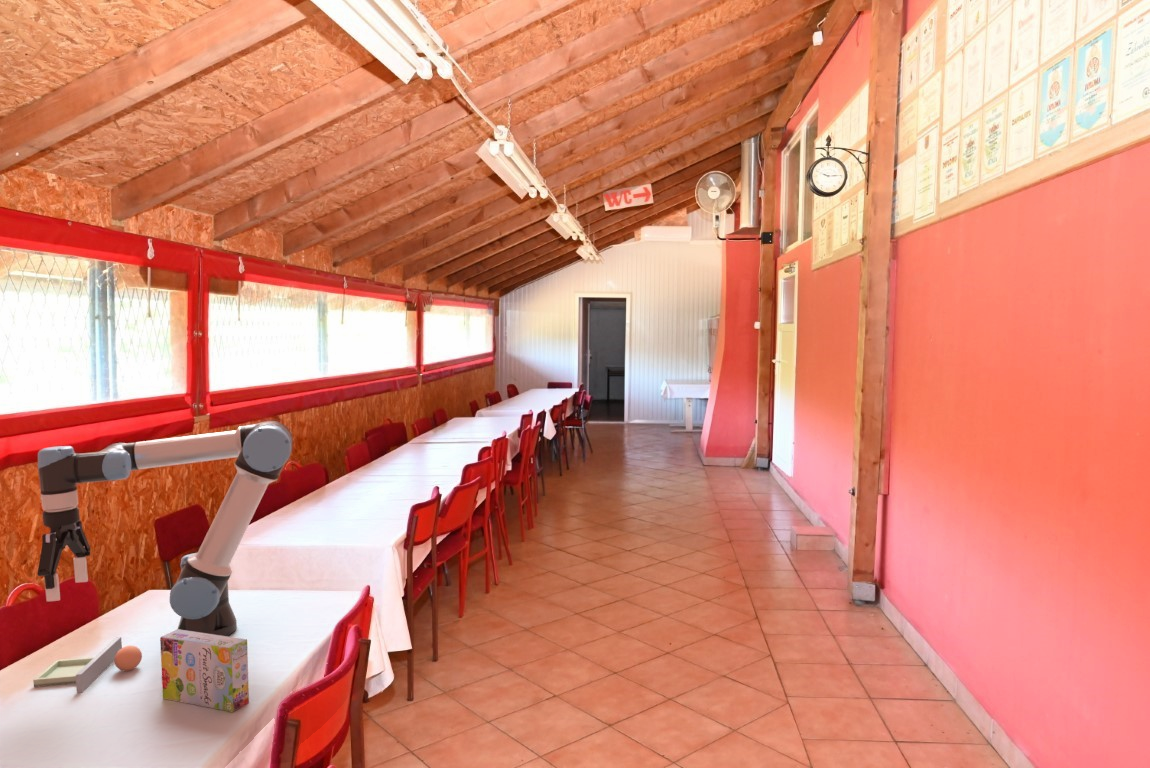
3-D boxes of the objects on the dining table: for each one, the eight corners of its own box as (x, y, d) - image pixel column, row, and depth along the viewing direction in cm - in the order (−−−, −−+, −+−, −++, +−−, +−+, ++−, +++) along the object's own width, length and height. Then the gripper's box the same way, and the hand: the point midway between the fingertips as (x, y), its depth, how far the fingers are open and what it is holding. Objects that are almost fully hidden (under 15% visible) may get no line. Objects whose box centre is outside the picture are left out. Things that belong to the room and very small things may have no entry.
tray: (104, 662, 191) (103, 656, 191) (83, 682, 180) (83, 675, 180) (57, 666, 189) (56, 660, 189) (33, 687, 178) (33, 679, 178)
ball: (146, 663, 190) (145, 640, 190) (136, 673, 184) (135, 650, 184) (121, 665, 189) (119, 642, 189) (110, 676, 183) (109, 652, 183)
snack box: (251, 701, 170) (248, 638, 168) (232, 713, 164) (229, 648, 163) (180, 688, 176) (177, 627, 175) (160, 699, 171) (157, 636, 170)
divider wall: (122, 653, 196) (121, 636, 196) (82, 692, 175) (81, 674, 175) (117, 653, 196) (116, 637, 196) (76, 693, 175) (75, 674, 174)
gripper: (70, 498, 196) (77, 575, 198) (14, 522, 171) (22, 610, 173) (100, 496, 197) (107, 573, 199) (49, 519, 173) (57, 607, 174)
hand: (68, 591), depth 186 cm, fingers open, 13 cm apart
